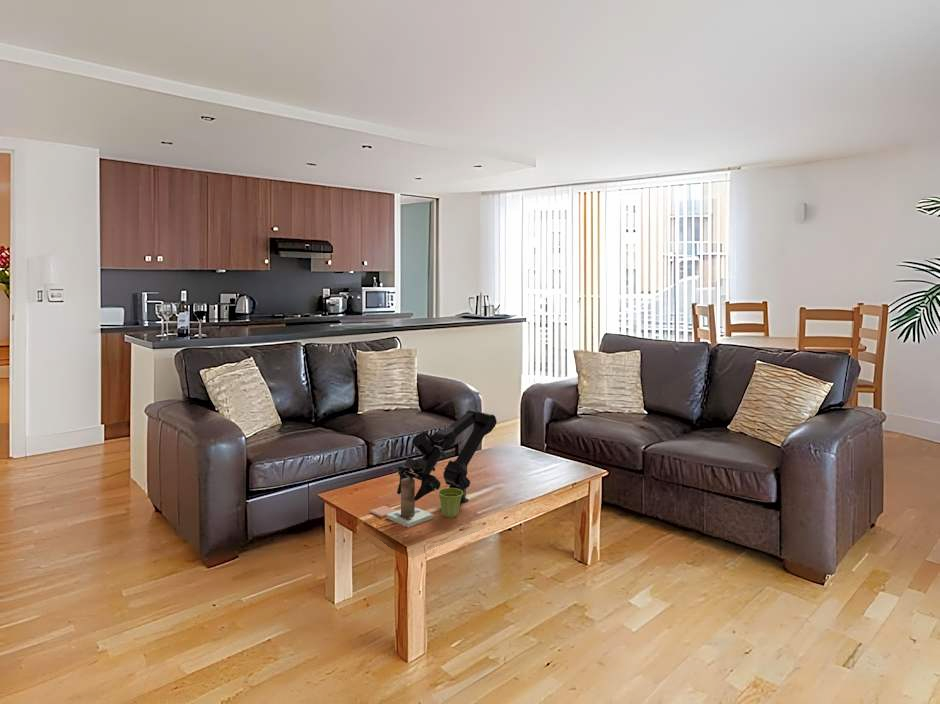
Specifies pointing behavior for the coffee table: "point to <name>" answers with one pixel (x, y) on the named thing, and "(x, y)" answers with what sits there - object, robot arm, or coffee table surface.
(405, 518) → the letter board
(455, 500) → the plant pot
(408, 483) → the walnut post
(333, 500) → the coffee table surface
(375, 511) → the terracotta tile
